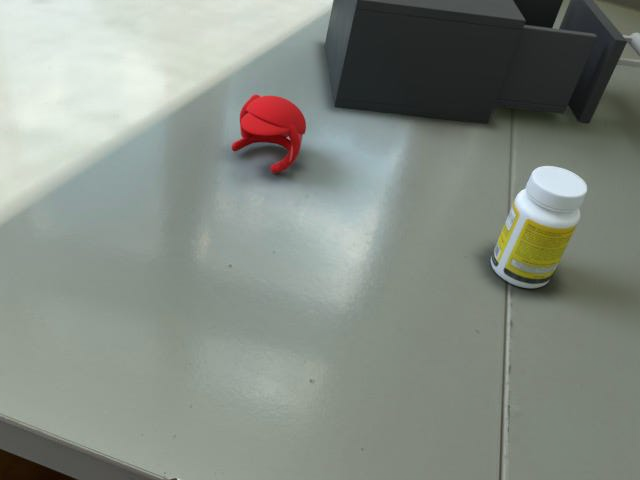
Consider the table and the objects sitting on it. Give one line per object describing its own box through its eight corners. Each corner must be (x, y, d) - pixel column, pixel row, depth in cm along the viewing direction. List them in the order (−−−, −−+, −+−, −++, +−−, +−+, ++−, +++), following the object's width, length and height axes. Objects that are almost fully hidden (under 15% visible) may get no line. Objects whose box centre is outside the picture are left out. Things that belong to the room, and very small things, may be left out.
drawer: (609, 74, 90) (645, -2, 84) (651, 131, 80) (694, 49, 74) (428, 52, 88) (452, -28, 82) (450, 108, 78) (478, 22, 73)
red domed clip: (241, 130, 72) (249, 69, 68) (305, 144, 71) (317, 84, 67) (220, 175, 66) (228, 112, 62) (289, 192, 65) (301, 129, 61)
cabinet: (460, 62, 89) (491, -34, 82) (488, 124, 79) (526, 20, 72) (324, 45, 88) (343, -54, 81) (334, 106, 78) (357, -1, 70)
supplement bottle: (562, 283, 61) (607, 194, 55) (515, 295, 59) (558, 205, 53) (522, 246, 64) (562, 158, 58) (477, 256, 62) (513, 167, 56)
